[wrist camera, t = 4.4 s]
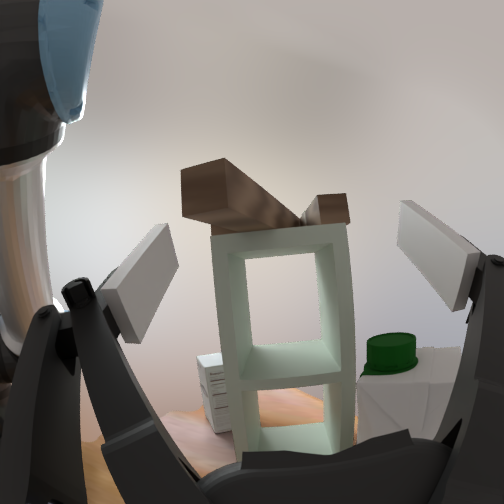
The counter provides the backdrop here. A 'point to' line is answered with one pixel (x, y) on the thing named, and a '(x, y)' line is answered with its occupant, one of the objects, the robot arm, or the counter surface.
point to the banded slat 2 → (326, 210)
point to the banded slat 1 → (221, 230)
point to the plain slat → (231, 199)
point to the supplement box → (214, 391)
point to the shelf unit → (288, 354)
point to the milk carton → (404, 386)
